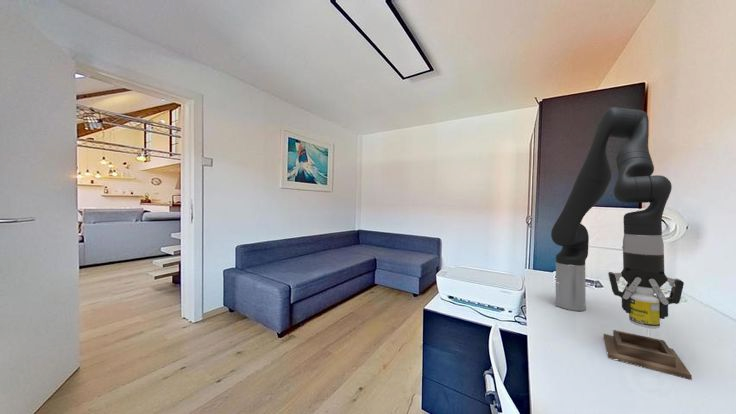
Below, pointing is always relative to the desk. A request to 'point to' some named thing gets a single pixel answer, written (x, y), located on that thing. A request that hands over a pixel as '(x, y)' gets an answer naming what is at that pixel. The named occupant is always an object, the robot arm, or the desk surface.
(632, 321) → the supplement bottle
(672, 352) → the cup holder
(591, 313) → the desk surface
